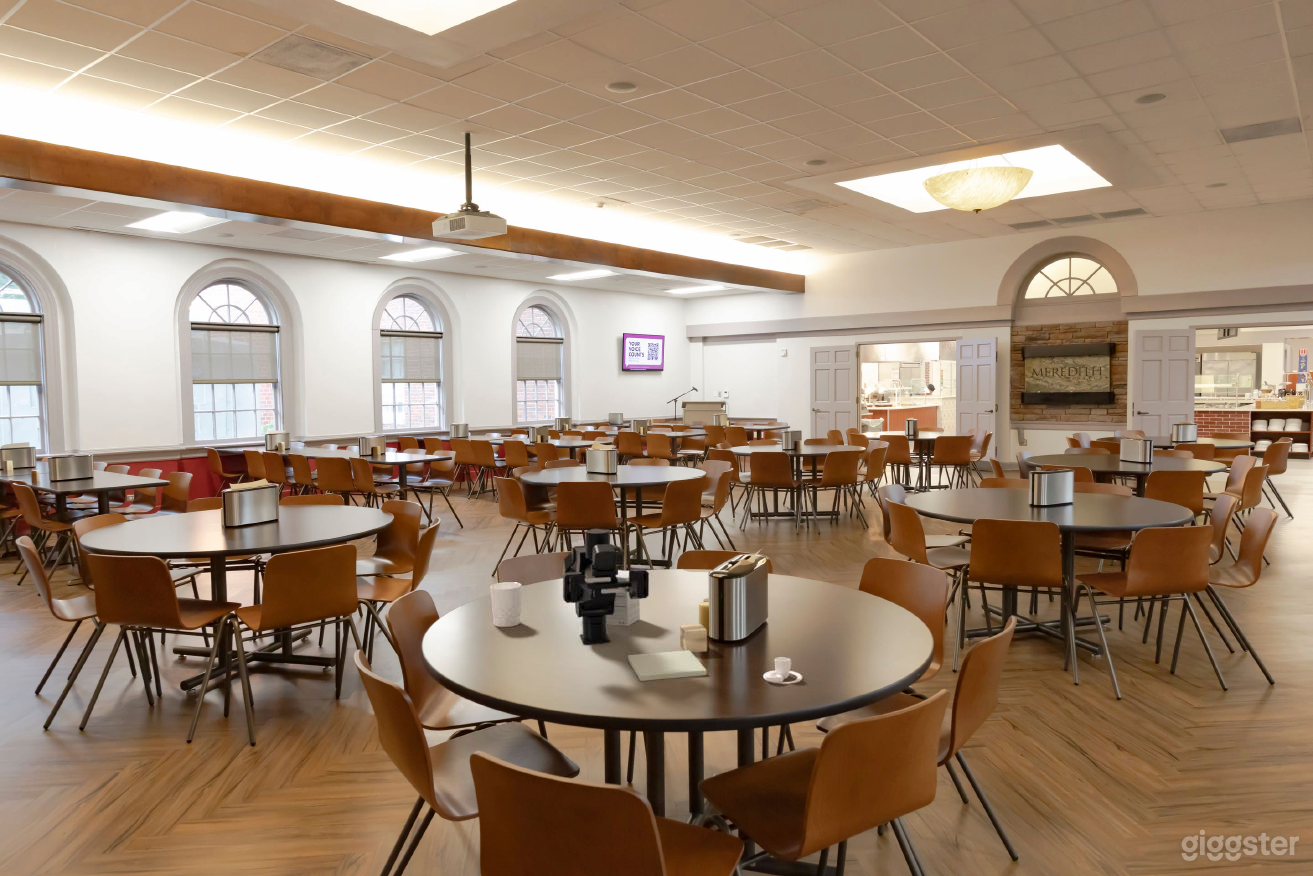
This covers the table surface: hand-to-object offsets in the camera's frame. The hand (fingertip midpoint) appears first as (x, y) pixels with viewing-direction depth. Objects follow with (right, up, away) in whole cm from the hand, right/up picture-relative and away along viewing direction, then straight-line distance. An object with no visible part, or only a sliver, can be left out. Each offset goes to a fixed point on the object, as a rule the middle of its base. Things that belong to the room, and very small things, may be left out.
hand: (613, 595), depth 173 cm
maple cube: (+18, -16, +17) cm, 29 cm away
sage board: (+11, -16, +5) cm, 20 cm away
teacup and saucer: (+32, -17, -2) cm, 36 cm away
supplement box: (0, -15, +41) cm, 44 cm away
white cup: (-30, -15, +41) cm, 53 cm away
